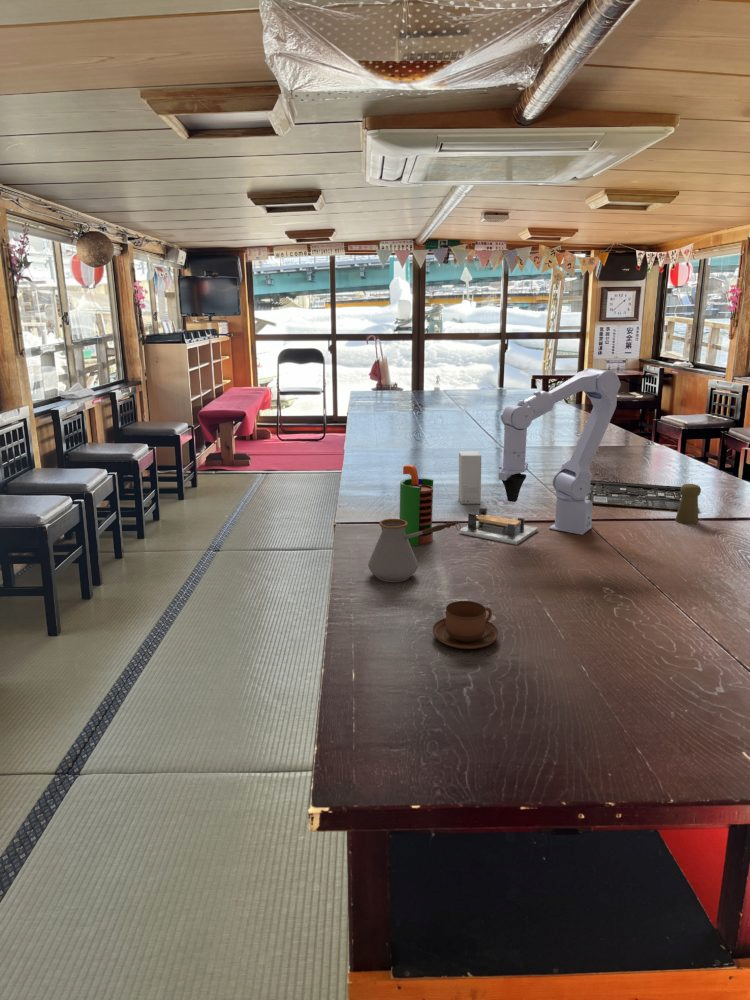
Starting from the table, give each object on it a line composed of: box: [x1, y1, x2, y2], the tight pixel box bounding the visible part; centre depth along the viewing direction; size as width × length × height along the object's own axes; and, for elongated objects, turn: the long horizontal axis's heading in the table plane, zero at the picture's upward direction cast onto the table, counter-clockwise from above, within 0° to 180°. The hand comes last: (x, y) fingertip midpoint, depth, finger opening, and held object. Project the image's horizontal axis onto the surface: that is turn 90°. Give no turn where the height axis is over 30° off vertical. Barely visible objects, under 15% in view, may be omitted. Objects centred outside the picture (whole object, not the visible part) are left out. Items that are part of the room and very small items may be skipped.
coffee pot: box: [367, 518, 462, 583], centre depth 153 cm, size 21×12×15 cm, turn 66°
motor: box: [399, 464, 434, 547], centre depth 179 cm, size 10×9×20 cm
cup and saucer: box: [432, 600, 499, 650], centre depth 126 cm, size 12×12×6 cm
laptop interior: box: [585, 479, 700, 512], centre depth 221 cm, size 35×28×2 cm
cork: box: [674, 483, 702, 525], centre depth 194 cm, size 6×6×11 cm
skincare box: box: [458, 450, 482, 505], centre depth 216 cm, size 8×7×16 cm
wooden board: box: [476, 513, 521, 527], centre depth 187 cm, size 13×5×1 cm, turn 55°
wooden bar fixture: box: [458, 507, 539, 546], centre depth 186 cm, size 17×14×5 cm
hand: (512, 501), depth 183 cm, fingers closed
